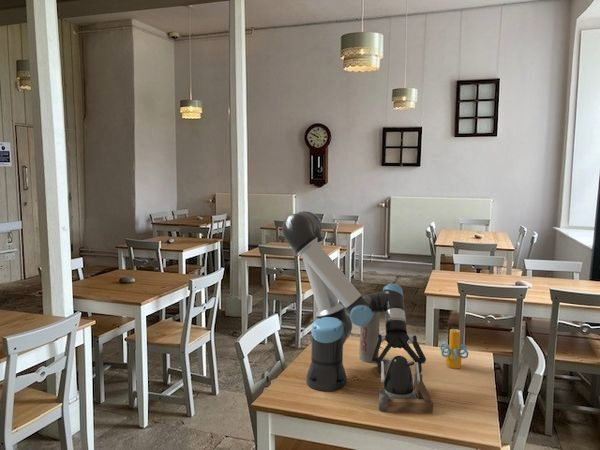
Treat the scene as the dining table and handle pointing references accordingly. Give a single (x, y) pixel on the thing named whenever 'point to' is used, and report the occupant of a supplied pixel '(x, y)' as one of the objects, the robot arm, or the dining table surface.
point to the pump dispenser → (399, 378)
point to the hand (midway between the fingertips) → (400, 381)
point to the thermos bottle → (369, 338)
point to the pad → (413, 396)
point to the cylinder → (454, 350)
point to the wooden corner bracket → (408, 401)
